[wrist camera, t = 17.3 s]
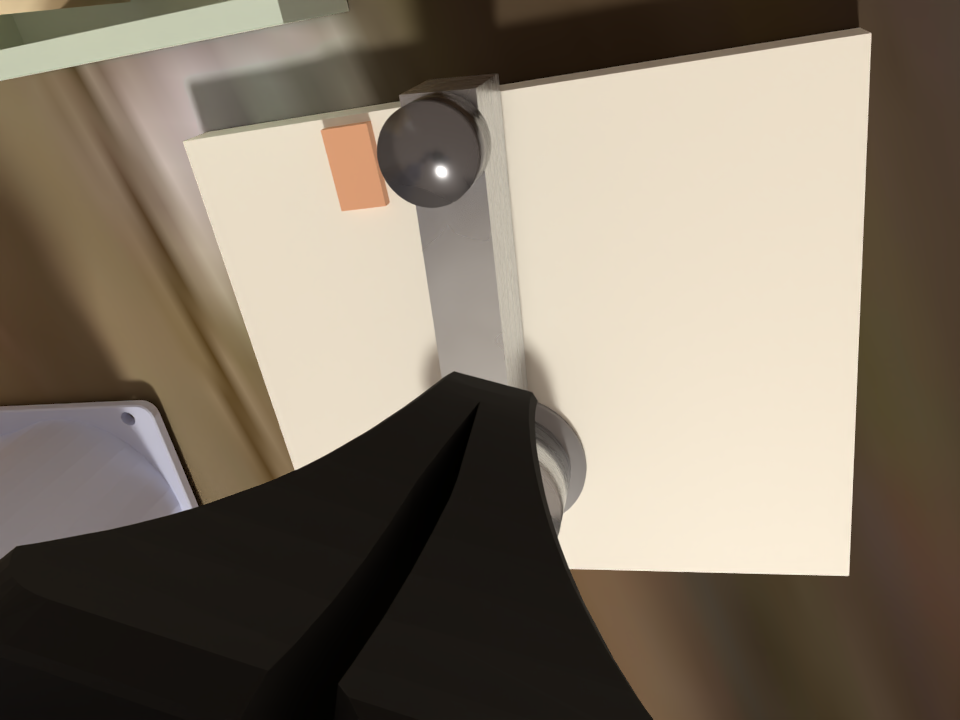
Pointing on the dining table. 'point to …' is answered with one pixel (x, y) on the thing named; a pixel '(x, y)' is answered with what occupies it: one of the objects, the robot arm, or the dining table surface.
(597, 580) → the dining table surface
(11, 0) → the block
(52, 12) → the tray
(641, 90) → the crank board
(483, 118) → the crank arm
